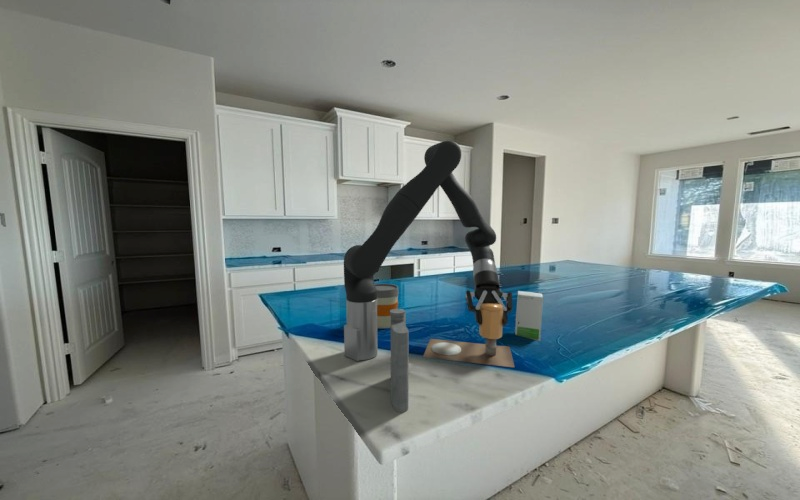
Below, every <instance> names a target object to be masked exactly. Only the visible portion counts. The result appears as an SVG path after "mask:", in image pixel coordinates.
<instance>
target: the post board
mask: <svg viewBox="0 0 800 500" xmlns="http://www.w3.org/2000/svg"><path fill="white" fill-rule="evenodd" d="M422 358H428V359H435V360H436V359H437V360H445V361H452V362H453V361H454V362H463V363H471V364H480V365H488V366H497V367H504V368H515V362H514V359H513V355H512V350H511V347H510V346H508V345H507V346H506V345H497V339H488V338H485V343H477V342H476V343H475V342H465V341H458V340H457V341H456V340H447V339H446V340H445V339H437V338H429V341H428V343H427V346H426V347H425V351H424V353H423V356H422Z"/></svg>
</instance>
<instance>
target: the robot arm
mask: <svg viewBox="0 0 800 500" xmlns="http://www.w3.org/2000/svg"><path fill="white" fill-rule="evenodd" d="M423 158H424V160H423V161H424V164H425V167H424V168H423V169H422V170H421V171H420V172H419V173H418V174H416V175H415V176H414V177H412V178H411V179H410V180H409V181H408V182H407V183H405V184H404V185H403V186H402V187H401V188H400V189H399V190H398V191H397V192H396V193H395V195H394V196H393V197H392V198H391V199H390V201H389V202H388V204H387V205H386V207H385V209H384V211H383V212H382V215H381V217H380V220H379V222H378V224H377V226H376V228H375V230H373V232H372V234H371V235H370V236H368V238H367V239H366V240H365V241H364V242H363V243H362V244H357V245H354V246H353V245H352V246H351V247H349V248H348V249H347V251H346V252H345V255H344V257H343V280H344V281H343V282H344V291H345V296H346V297H345V298H346V299H345V300H346V301H345V302H346V324H344V325H343V336H344V337H343V340H344V341H343V343H344V349H343V350H344V356H345V357H348V358H349V359H352V360H353V361H356V362H360V361H366V360H367V361H368V360H370V359H373V358H375V357H376V356H377V355H378V328H377V289H376V287H375V284H376V283H375V280H374V275H375V274H377V272H378V271H379V270H380V268H381V267H382V264H384V262H385V260H386V258H387V257H388V255H389V254H390V252H391V250H392V248H394V245H395V244H396V243H397V242H398V241H399V239H400V238H401V237H402V236H403V235H404V233H405V231H406V230H408V228H409V227H410V225H412V223H413V222H414V221H415V219H416V218H417V217H418V215H420V213H421V211H422V210H423V208H424V207H425V206H426V204H427V203H428V202H429V200H430V199H431V198H432V197H433V195H434V193H436V190H438V188H439V187H441V189H442V190H443V192H444V194H445V195H446V197H447V198H448V200H449V201H450V203H451V205H452V207H453V209H454V210H455V211H454V212H456V215H457V217H458V219H459V220H460V222H461V224H462V226H463V227H464V228H475V229H474V230H470V231H468V232H466V234H465V238H464V241H465V244H466V245H467V247H468V249H469V252H470V255H471V258H472V265H473V267H472V269H473V270H472V272H473V274H472V277H473V281H474V290H473V291H470V290H466V291H465V295H464V297H465V301H466V306H467V310H468V311H469V312H471V313H472V312H473V313H474V317H475V322H476V323H477V325H478V326H479V325H481V323H482V319H481V310H480V307H481V304H482V303H498V304H501V305H502V306H503V308H502V309H503V327H505V326H506V325H507V324H508V322H509V318H508V316H509V315H508V314H511V313H512V311H513V309H514V306H513V305H514V303H513V293H512V292H511V291H508V292H503V291H502V290H501V287H500V286H501V285H500V281H499V280H500V278H499V275H498V269H497V266H496V262H495V261H496V260H495V256H494V251H493V250H492V249H491V248H490V247H489V246H492V245H494V244H495V243H496V241H497V235H496V232H495V230H494V229H493V227H492V226H491V225H490V224H489V223H488V221H486V220H485V219H484V217H483V216H482V214H481V212H480V210H479V208H478V207H477V203H476V202H475V200H474V199H473V197H472V196H471V195H470V193H469V192H468V191H467V190H466V189H465V188H464V187H463V186H462V185H461V184H460V182H459V181H458V180H457V178H456V177H455V175H454V173H453V172H454V171H455V169H456V168H458V166H459V164H460V162H461V159H462V149H461V146H460V145H459V144H458V143H457V142H456V141H453V140H444V141H440V142H437V143H435V144H433V145H431V146H429V147H428V148H427V149H426V151H425V153H424V157H423ZM502 297H503V299H504V301H505V302H506V303H505V304H506V306H505V304H504V303H503V300H502V299H501V298H502ZM474 298H475V299H477V300H478V302H477V303H476V305H474V303H473V299H474Z"/></svg>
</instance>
